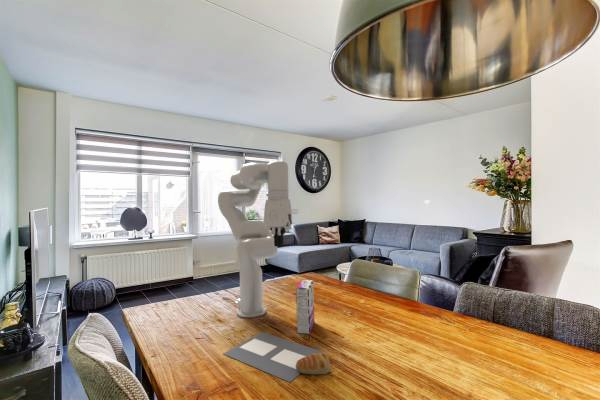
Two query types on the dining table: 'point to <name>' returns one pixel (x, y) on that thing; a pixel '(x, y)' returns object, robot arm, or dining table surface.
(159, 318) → the dining table surface
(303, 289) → the candy bar box
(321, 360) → the pastry
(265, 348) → the label mat
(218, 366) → the dining table surface
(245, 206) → the robot arm
